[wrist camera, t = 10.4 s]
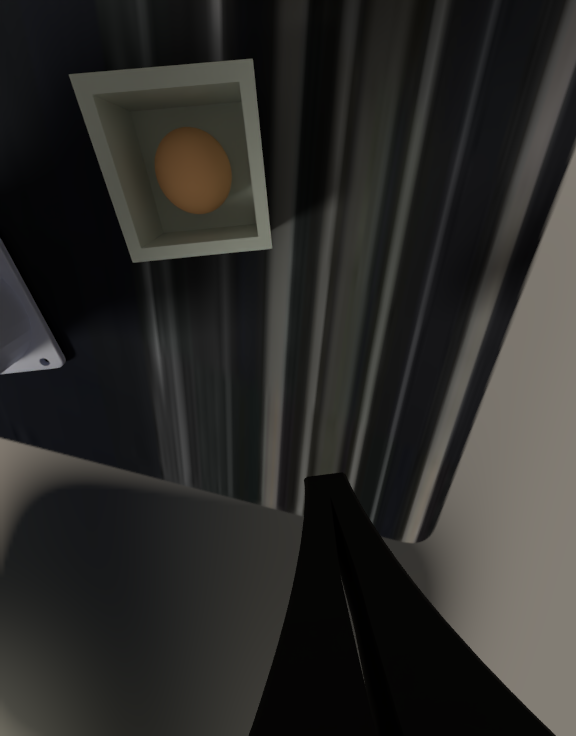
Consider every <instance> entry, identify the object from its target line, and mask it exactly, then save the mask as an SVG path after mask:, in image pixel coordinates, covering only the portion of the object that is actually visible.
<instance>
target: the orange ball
mask: <svg viewBox="0 0 576 736" xmlns="http://www.w3.org/2000/svg"><path fill="white" fill-rule="evenodd" d="M155 173H156V178H157V181H158V184H159V186H160V188H161V190H162V191H163V193H164V194H165V196H166V197H167V198H168V199H169V201H170V202H172V203H173V204H174V205H175V206H177V207H178V208H180V209H181V210H183V211H186V212H188V213H192V214H206V213H209V212H212V211H214V210H216V209H217V208H219V207H220V206H221V205H222V204H223V203H224V201H225V200H226V198H227V196H228V194H229V192H230V188H231V183H232V171H231V166H230V162H229V159H228V157H227V154H226V152H225V151H224V149H223V147H222V146H221V145H220V143H219V142H218V141H217V140H216V139H215V138H214V137H213V136H211V135H210V134H209V133H207V132H205V131H203V130H201V129H198V128H194V127H181V128H177V129H174V130H173V131H171V132H169V133H168V134H167V135H166V136H165V137H164V138H163V139H162V140H161V142H160V144H159V146H158V148H157V151H156V154H155Z"/></svg>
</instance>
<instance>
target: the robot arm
mask: <svg viewBox="0 0 576 736" xmlns="http://www.w3.org/2000/svg"><path fill="white" fill-rule="evenodd" d="M44 358H45V359H47V360H48V361H49V362H46V361H45V360H44ZM65 362H66V359H65V356H64V354H63V353H62V351H61V349H60V347H59V345H58V343H57V341H56V340H55V338H54V336H53V334H52V332H51V330H50V329H49V327H48V325H47V323H46V321H45V319H44V317H43V316H42V314H41V312H40V310H39V308H38V306H37V305H36V303H35V301H34V299H33V297H32V295H31V293H30V292H29V290H28V288H27V286H26V284H25V282H24V281H23V279H22V277H21V275H20V273H19V271H18V269H17V268H16V266H15V264H14V262H13V260H12V258H11V257H10V255H9V253H8V251H7V249H6V247H5V245H4V244H3V242H2V240H1V238H0V374H7V373H16V372H26V371H35V370H44V369H53V368H59V367H61V366H62V365H63V364H64V363H65ZM304 484H305V510H304V522H303V531H302V538H301V545H300V551H299V556H298V562H297V567H296V573H295V578H294V582H293V587H292V591H291V596H290V600H289V605H288V608H287V612H286V617H285V620H284V624H283V627H282V631H281V635H280V638H279V642H278V646H277V649H276V653H275V656H274V660H273V663H272V666H271V669H270V672H269V676H268V679H267V682H266V685H265V688H264V691H263V695H262V698H261V701H260V704H259V707H258V710H257V713H256V716H255V719H254V722H253V725H252V728H251V730H250V733H249V736H556V735H554V734H553V733H552V731H551V730H550V729H548V728H547V727H546V726H545V725H544V724H543V723H542V722H541V721H540V720H539V719H538V718H537V717H536V716H535V715H534V714H533V713H532V712H531V711H530V710H529V709H528V708H527V707H526V706H525V705H524V704H523V703H522V702H521V701H520V700H519V699H518V698H517V697H516V696H515V695H514V694H513V693H512V692H511V691H510V690H509V689H508V688H507V687H506V686H505V685H504V684H503V683H502V681H501V680H500V679H499V678H498V677H497V676H496V675H495V674H494V673H493V672H492V671H491V670H490V669H489V668H488V667H487V666H486V665H485V664H484V663H483V662H482V661H481V659H480V658H479V657H478V656H477V655H476V654H475V653H474V652H473V651H472V649H471V648H470V647H469V646H468V645H467V644H466V643H465V642H464V641H463V639H462V638H461V637H460V636H459V635H458V634H457V633H456V632H455V631H454V629H453V628H452V627H451V626H450V625H449V624H448V623H447V622H446V621H445V619H444V618H443V617H442V616H441V615H440V614H439V612H438V611H437V610H436V609H435V607H434V606H433V605H432V604H431V603H430V602H429V600H428V599H427V598H426V597H425V596H424V594H423V593H422V592H421V590H420V589H419V588H418V587H417V585H416V584H415V583H414V582H413V580H412V579H411V578H410V576H409V575H408V574H407V573H406V571H405V570H404V569H403V567H402V566H401V565H400V563H399V562H398V561H397V559H396V558H395V556H394V555H393V553H392V552H391V551H390V549H389V548H388V546H387V545H386V544H385V542H384V541H383V539H382V538H381V536H380V534H379V533H378V531H377V530H376V528H375V527H374V525H373V524H372V522H371V521H370V519H369V517H368V516H367V514H366V513H365V511H364V509H363V507H362V506H361V504H360V502H359V500H358V499H357V497H356V495H355V493H354V491H353V489H352V487H351V485H350V483H349V481H348V479H347V477H346V474H344V473H334V474H326V475H319V476H311V477H306V478H305V479H304ZM341 579H342V581H341ZM342 582H343V585H342ZM343 586H344V590H345V594H346V597H347V601H348V605H349V609H350V612H351V616H352V621H353V625H354V629H355V633H356V639H357V644H358V650H359V655H360V660H361V665H362V670H363V674H362V670H361V666H360V662H359V657H358V653H357V648H356V644H355V639H354V635H353V631H352V626H351V622H350V618H349V613H348V608H347V604H346V599H345V595H344V591H343ZM363 676H364V679H363ZM364 681H365V683H364Z"/></svg>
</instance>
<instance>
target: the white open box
mask: <svg viewBox="0 0 576 736" xmlns="http://www.w3.org/2000/svg"><path fill="white" fill-rule="evenodd" d="M69 77H70V80H71V83H72V86H73V89H74V92H75V95H76V98H77V101H78V103H79V106H80V109H81V112H82V115H83V118H84V121H85V124H86V127H87V130H88V133H89V136H90V139H91V142H92V145H93V148H94V150H95V153H96V156H97V159H98V162H99V165H100V168H101V171H102V174H103V177H104V180H105V183H106V186H107V189H108V192H109V195H110V197H111V200H112V203H113V206H114V209H115V212H116V215H117V218H118V221H119V224H120V227H121V230H122V233H123V236H124V239H125V242H126V244H127V247H128V250H129V253H130V256H131V259H132V262H133V263H135V262H145V261H155V260H165V259H175V258H185V257H194V256H204V255H214V254H224V253H234V252H244V251H254V250H263V249H272V241H271V232H270V222H269V212H268V202H267V193H266V183H265V173H264V163H263V153H262V144H261V134H260V124H259V114H258V105H257V95H256V85H255V75H254V65H253V59H242V60H230V61H219V62H207V63H195V64H184V65H172V66H160V67H149V68H137V69H125V70H114V71H102V72H91V73H79V74H69ZM181 127H194V128H198V129H201V130H203V131H205V132H207V133H209V134H210V135H211V136H213V137H214V138H215V139H216V140H217V141H218V142H219V143H220V145H221V146H222V147H223V149H224V151H225V152H226V154H227V157H228V159H229V162H230V166H231V171H232V183H231V188H230V192H229V194H228V196H227V198H226V200H225V201H224V203H223V204H222V205H221V206H220V207H219V208H217V209H216V210H214V211H212V212H209V213H206V214H192V213H188V212H186V211H183V210H181V209H180V208H178V207H177V206H175V205H174V204H173V203H172V202H170V201H169V199H168V198H167V197H166V196H165V194H164V193H163V191H162V190H161V188H160V186H159V184H158V181H157V178H156V173H155V154H156V151H157V148H158V146H159V144H160V142H161V140H162V139H163V138H164V137H165V136H166V135H167V134H168V133H169V132H171V131H173V130H174V129H177V128H181Z"/></svg>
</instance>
